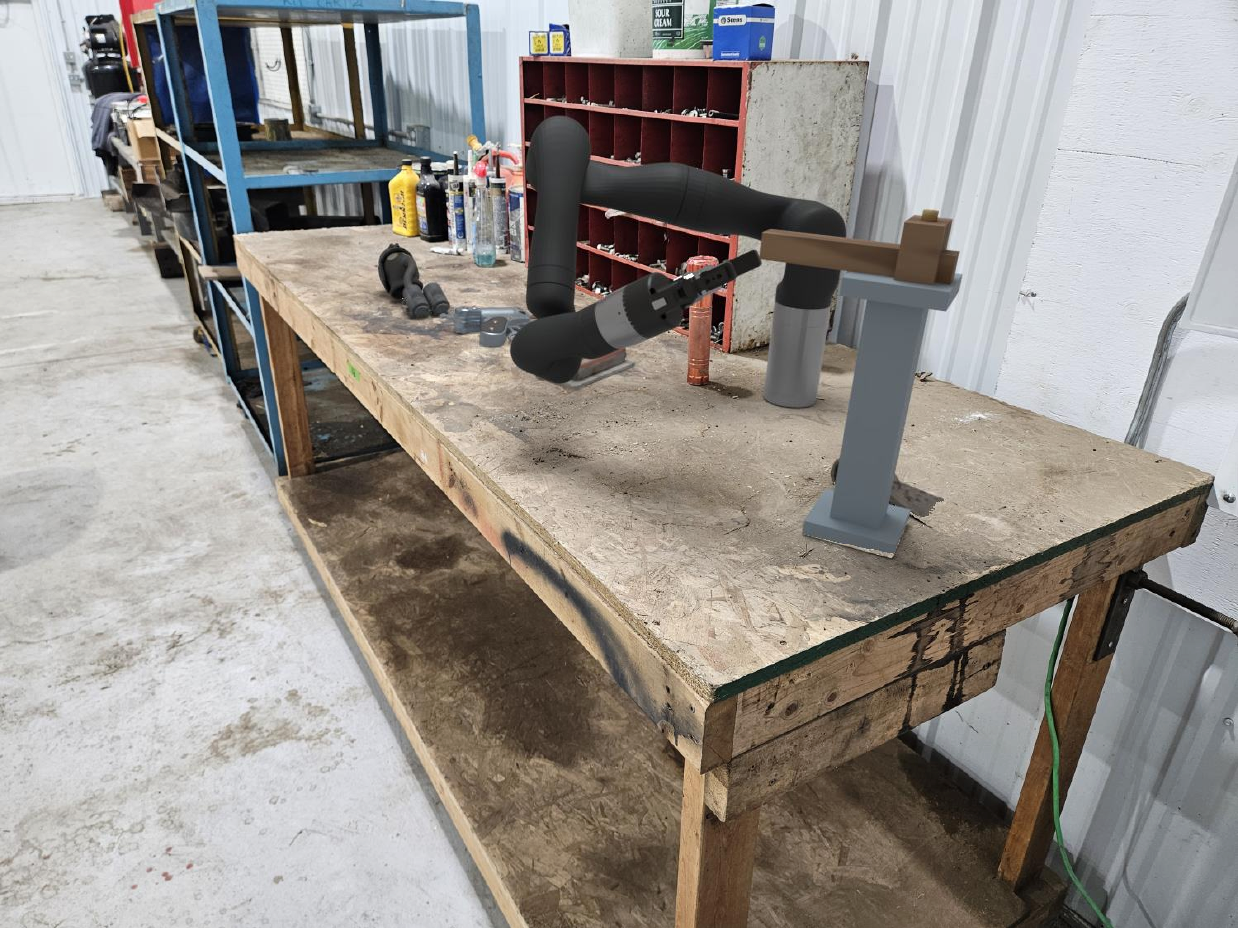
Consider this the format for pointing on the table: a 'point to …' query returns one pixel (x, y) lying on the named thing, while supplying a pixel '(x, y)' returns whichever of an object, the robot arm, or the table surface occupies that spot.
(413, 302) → the gas mask
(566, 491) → the table surface
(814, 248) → the marking gauge
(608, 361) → the packaged product
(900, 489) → the axe head
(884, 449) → the stand
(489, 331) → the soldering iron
